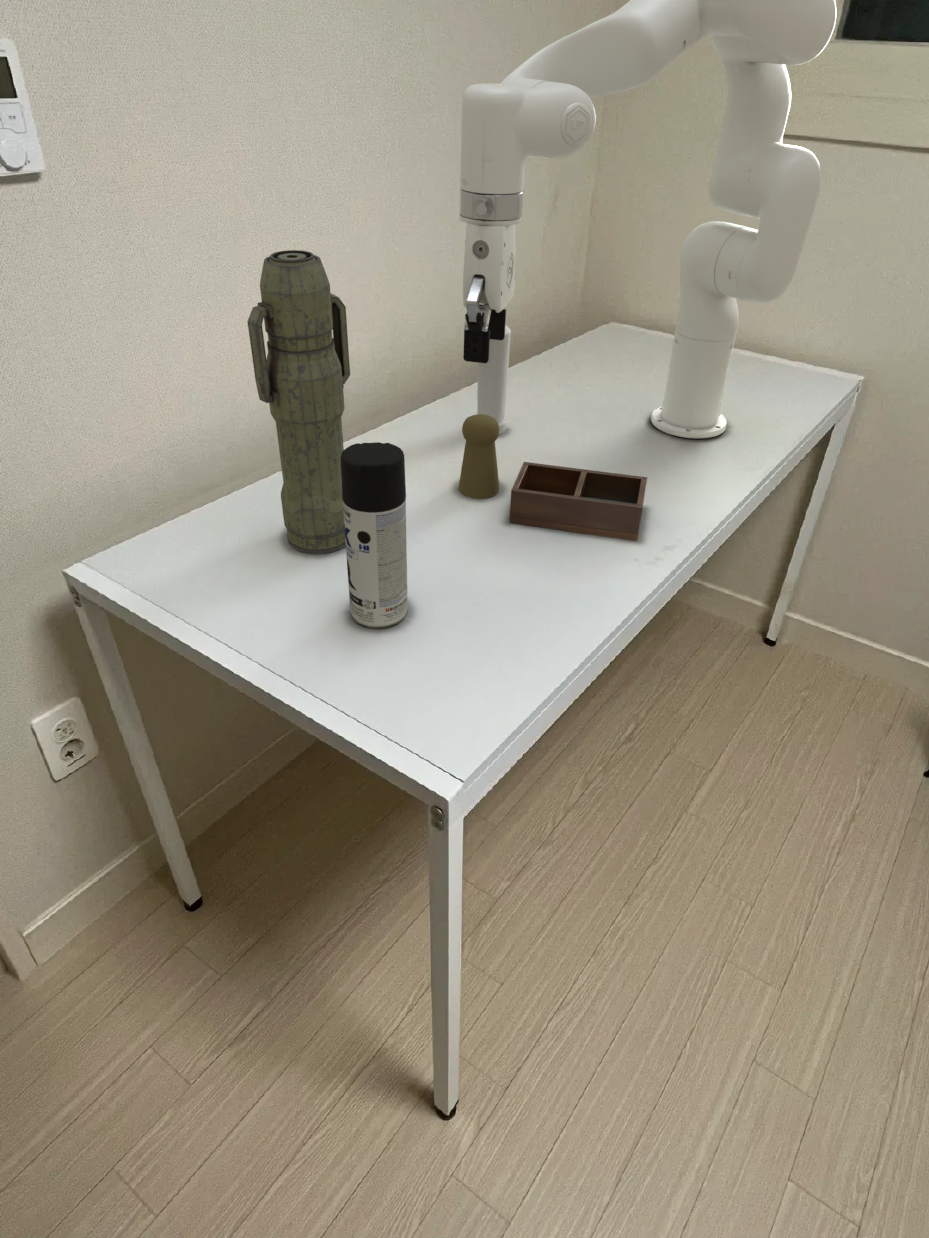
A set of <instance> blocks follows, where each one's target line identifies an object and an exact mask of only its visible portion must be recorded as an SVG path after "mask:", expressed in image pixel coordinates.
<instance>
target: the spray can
mask: <svg viewBox="0 0 929 1238" xmlns="http://www.w3.org/2000/svg"><path fill="white" fill-rule="evenodd" d="M341 478H342V499H343V514H344V527H345V541H346V547H345V553H346V555H345V556H346V568H347V583H348V597H349V598H348V599H349V608H350V614H351V618H352V619H353V620H354V621H355V622H356V623H357V624H359V625H361V626H363V627H364V628H369V629H386V628H390V627H393V626H395V625H397V624H399V623H400V622H402V621H403V620H404V618H405V617H406V616H407V611H408V607H409V605H408V552H407V545H408V544H407V542H408V541H407V491H406V489H407V486H406V463H405V453H404V451H403V450H402V448H401V447H399V446H397V445H395V444H393V443H390V442H380V441H378V442H376V441H375V442H362V443H354V444H351V445H348V446H347V447H345V448H344V450H343V452H342V454H341Z"/></svg>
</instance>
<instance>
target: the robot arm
mask: <svg viewBox="0 0 929 1238" xmlns="http://www.w3.org/2000/svg"><path fill="white" fill-rule="evenodd" d="M836 21H837V3H836V0H628V2H626V3H625V4H623V6H621V7H619V9H617V10H616V11H615V12H614V11H613V13H611V14H609V15H606V16H605V17H603V18H600V19H598V20H596V21H594V22H591V23H590V24H588V25H586V26H584V27H582V28H580V29H578V30H576V31H574V32H572V33H570V34H568V35H565V36H563V37H561V38H560V39H557V40H555V41H554V42H551V43H550V44H548V45H546V46H545V47H543V48H541V49H540V50H538V51H537V52H536V53H534V54H533V55H531V56H530V57H529V58H528V59H526V60H525V61H523V63H521V64H520V65H519V66H517V67H516V68H514V70H512V71H511V72H510V73H509V74H508V75H507V76H506V77H505V78H503V80H502V81H501V82H500V83H494V82H493V83H491V82H490V83H487V82H485V83H484V82H483V83H475V84H470V85H469V86H468V87H467V88H466V89H465V91H464V92H463V95H462V102H461V137H460V175H459V177H460V180H459V181H460V182H459V183H460V184H459V216H458V217H459V221H461V222H463V223H466V231H465V240H464V254H463V255H464V256H463V275H462V303H463V306H464V308H465V310H466V313H465V315H464V327H463V357H462V358H463V361H465V362H468V363H477V364H478V363H487V362H488V361H489V346H490V339H493V340H503V339H504V337H505V325H506V319H507V308H506V307H507V306H508V304H509V303H510V302H511V300H512V299H513V297H514V295H515V289H516V262H517V261H516V259H517V257H516V255H517V226H516V225H519V224H521V222H522V220H523V219H522V218H523V203H524V188H525V172H526V160H527V159H526V158H527V157H530V156H533V157H541V158H542V157H543V158H549V159H556V160H559V159H560V160H561V159H567V158H570V157H573V156H575V155H577V154H578V153H580V152H582V150H583V149H585V148H586V147H587V145H588V144H589V143H590V141H591V139H592V137H593V136H594V132H595V129H596V125H597V123H596V122H597V115H596V110H595V105H594V104H593V101H592V100H591V99H592V98H597V97H602V96H607V95H613V94H619V93H623V92H624V93H625V92H627V91H630V90H634V89H638V88H640V87H643V86H646V85H648V84H649V83H651V82H652V81H653V82H654V80H655V79H656V78H658V76H660V75H661V74H662V73H663V72H664V71H666V70H667V69H668V68H669V67H670V66H672V65H673V64H674V63H675V62H676V61H677V60H679V59H680V58H681V57H682V56H683V55H684V54H686V53H687V52H689V50H690V49H692V48H694V47H695V46H696V45H697V44H698V43H699V42H700V41H702V40H703V39H705V38H707V37H709V40H710V43H711V45H712V48H713V50H714V52H715V53H716V56H717V57H718V59H719V61H720V63H721V66H722V68H723V72H724V76H725V81H726V85H727V86H726V87H727V100H726V102H727V103H726V106H725V112H724V117H723V121H722V122H723V123H722V126H721V130H720V133H719V138H718V142H717V147H716V149H715V150H716V151H715V155H714V159H713V163H712V166H711V167H712V168H711V172H710V177H709V183H708V188H707V189H708V193H707V194H708V198H709V200H710V203H711V204H712V205H713V206H715V207H716V208H717V209H719V210H721V211H725V212H728V213H731V214H735V215H740V216H742V217H743V216H744V217H749V218H752V219H757V220H759V224H758V228H757V229H756V228H752V227H749V226H745V225H740V224H736V223H732V222H727V221H720V220H718V221H716V220H715V221H714V220H713V221H708V222H704V223H701V224H699V225H698V226H695V228H693V230H691V231H690V232H689V234H688V235H687V236H686V238H685V240H684V242H683V244H682V248H681V251H680V258H679V281H680V283H679V285H680V287H679V301H678V309H677V317H676V324H675V330H674V334H673V341H672V347H671V352H670V357H669V365H668V370H667V375H666V382H665V388H664V394H663V401H662V405H661V406H659V407H657V408H655V409H653V411H652V412H651V418H650V421H651V423H652V425H653V426H654V427H655V428H656V429H657V430H659V431H661V432H663V433H666V434H668V435H672V436H674V437H678V438H679V437H680V438H686V439H709V438H713V437H714V438H715V437H717V436H720V435H721V434H723V433H724V432H725V431H726V430H727V427H728V426H727V425H728V420H727V419H726V417H725V416H724V415H723V414H721V408H722V404H723V403H722V402H723V399H724V394H725V389H726V383H727V380H728V375H729V370H730V366H731V361H732V355H733V351H734V347H735V341H736V337H737V332H738V328H739V320H740V319H739V318H740V317H739V316H740V315H739V314H740V313H739V306H738V301H737V300H740V301H742V302H747V303H750V304H755V305H760V306H761V305H762V306H763V305H769V304H772V303H774V302H777V300H779V299H780V298H781V297H782V296H783V295H784V293H786V291H787V289H788V288H789V287H790V284H791V282H792V280H793V277H794V275H795V273H796V270H797V267H798V263H799V260H800V257H801V254H802V252H803V249H804V244H805V242H806V239H807V235H808V231H809V229H810V225H811V223H812V219H813V216H814V212H815V211H816V210H815V209H816V207H817V202H818V199H819V195H820V190H821V183H822V177H821V176H822V171H821V165H820V162H819V160H818V158H817V156H816V155H815V154H814V153H813V152H812V151H811V150H809V149H807V148H805V147H803V146H798V145H793V144H787V143H786V144H785V143H783V140H784V133H785V128H786V125H787V121H788V116H789V114H790V113H789V112H790V109H791V104H792V88H791V81H790V75H789V72H788V69H787V66H799V65H804V64H808V63H809V62H812V60H814V59H816V57H818V56H819V55H820V54H821V53H822V52H823V51H824V49H825V48H826V47H827V45H828V44H829V42H830V40H831V38H832V35H833V33H834V30H835V28H836Z"/></svg>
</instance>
